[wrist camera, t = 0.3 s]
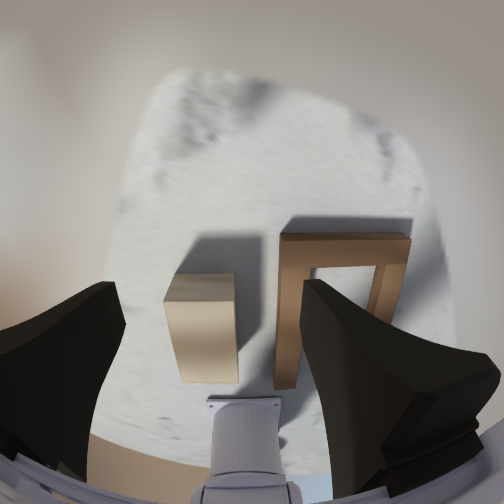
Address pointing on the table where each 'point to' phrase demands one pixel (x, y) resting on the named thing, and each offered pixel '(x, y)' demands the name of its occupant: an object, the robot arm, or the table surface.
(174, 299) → the beige rectangular block
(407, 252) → the brown frame section
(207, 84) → the table surface
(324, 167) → the table surface
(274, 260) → the table surface
